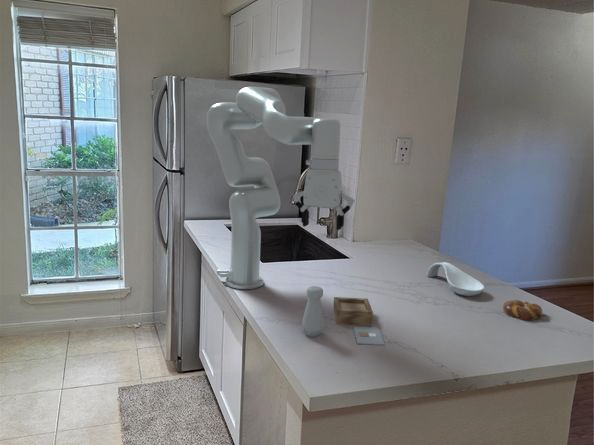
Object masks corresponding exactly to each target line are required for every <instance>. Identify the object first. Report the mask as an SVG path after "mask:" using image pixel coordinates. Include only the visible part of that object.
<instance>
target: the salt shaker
mask: <svg viewBox="0 0 594 445" xmlns="http://www.w3.org/2000/svg"><path fill="white" fill-rule="evenodd" d="M306 296H307V297H308V298H307V301H306V306H305V310H304V313H303V317H302V322H301V328H302V330H303V332H304V334H305V336H306V337H310V338H315V337H320V334H321V332H322V331H323V329H324V326H325V325H324V318H323V311H322V309H323V308H322V300H321V298H322V297H324V289H323V288H322V287H320V286H318V285H311V286H309V287H308V288H306Z"/></svg>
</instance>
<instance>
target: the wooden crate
mask: <svg viewBox="0 0 594 445" xmlns="http://www.w3.org/2000/svg"><path fill="white" fill-rule="evenodd" d="M332 306H333V307H332V309H333V310H332V311H333V315H334V320H335V324H338V325H354V326H355V325H360V326H372V324H373V314H374V312H373V308H372V307H371V304H370V301H369V298H364V297H341V296H334V297H333V305H332Z"/></svg>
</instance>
